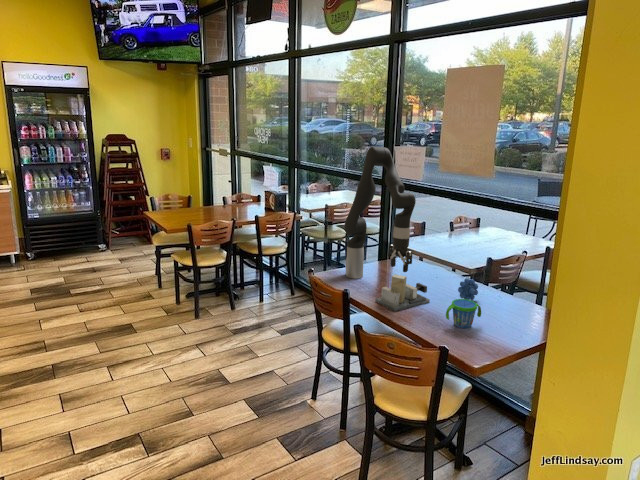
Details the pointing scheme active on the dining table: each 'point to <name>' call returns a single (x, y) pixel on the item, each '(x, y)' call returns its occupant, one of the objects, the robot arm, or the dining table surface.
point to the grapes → (468, 289)
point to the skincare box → (399, 286)
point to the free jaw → (414, 291)
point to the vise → (392, 300)
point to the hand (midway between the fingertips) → (399, 269)
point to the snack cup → (463, 312)
